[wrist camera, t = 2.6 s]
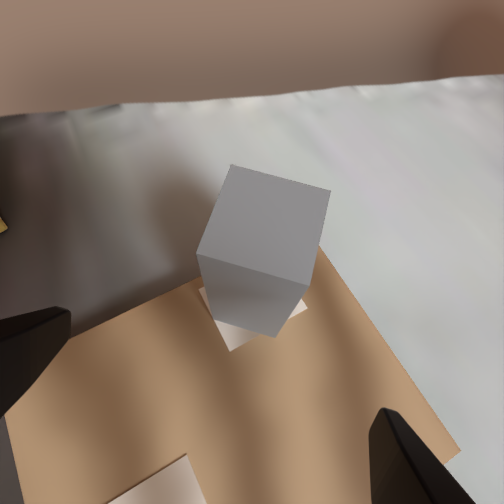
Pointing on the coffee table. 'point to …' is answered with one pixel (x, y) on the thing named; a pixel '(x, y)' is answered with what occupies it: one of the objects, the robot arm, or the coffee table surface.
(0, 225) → the candy box
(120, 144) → the coffee table surface
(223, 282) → the slate post
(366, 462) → the label board
